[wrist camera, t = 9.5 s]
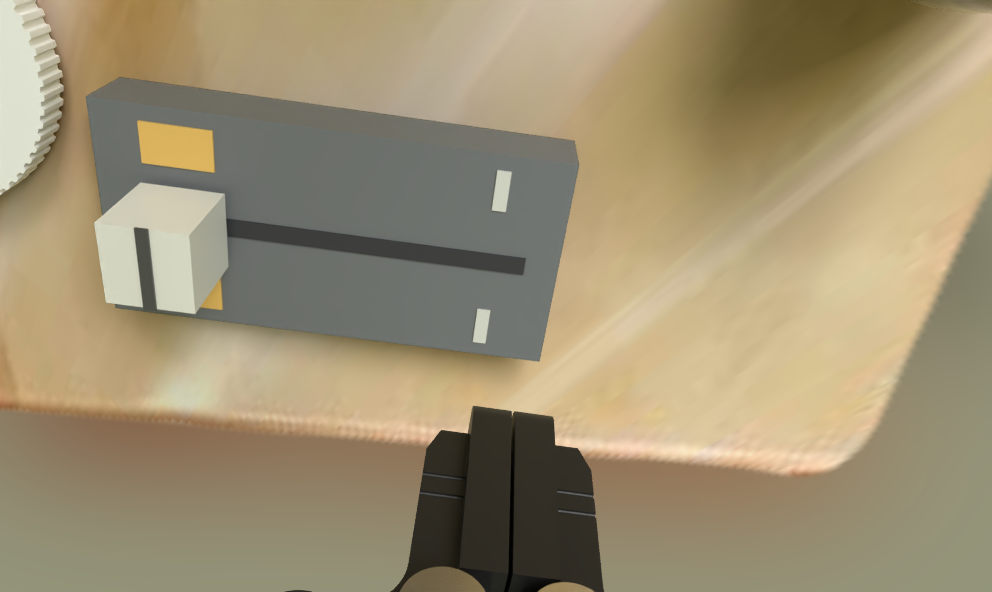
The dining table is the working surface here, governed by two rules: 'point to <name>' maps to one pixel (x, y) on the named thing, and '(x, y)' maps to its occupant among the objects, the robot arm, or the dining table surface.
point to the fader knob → (163, 247)
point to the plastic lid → (26, 90)
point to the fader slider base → (353, 213)
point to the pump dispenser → (959, 5)
